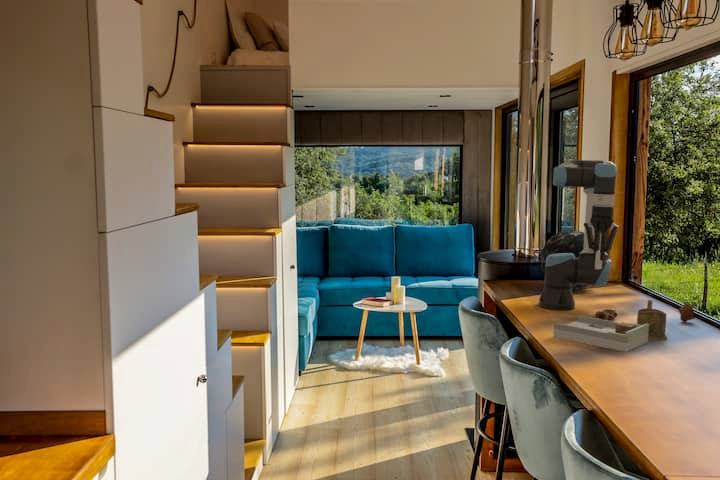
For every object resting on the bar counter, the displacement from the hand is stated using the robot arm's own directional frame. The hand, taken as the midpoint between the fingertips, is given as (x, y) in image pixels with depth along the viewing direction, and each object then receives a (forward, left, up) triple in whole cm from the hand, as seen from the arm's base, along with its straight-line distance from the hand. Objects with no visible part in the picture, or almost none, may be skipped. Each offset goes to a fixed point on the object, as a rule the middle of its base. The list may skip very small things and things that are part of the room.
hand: (598, 268), depth 260 cm
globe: (-44, +74, -23) cm, 89 cm away
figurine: (-4, +19, -24) cm, 31 cm away
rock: (+21, +42, -23) cm, 53 cm away
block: (+17, -13, -20) cm, 29 cm away
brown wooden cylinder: (+18, +8, -23) cm, 30 cm away
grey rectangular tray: (+8, -13, -23) cm, 28 cm away
